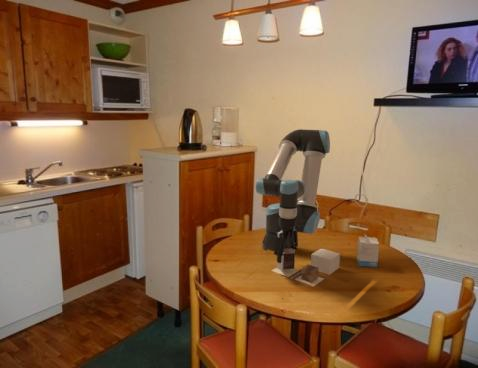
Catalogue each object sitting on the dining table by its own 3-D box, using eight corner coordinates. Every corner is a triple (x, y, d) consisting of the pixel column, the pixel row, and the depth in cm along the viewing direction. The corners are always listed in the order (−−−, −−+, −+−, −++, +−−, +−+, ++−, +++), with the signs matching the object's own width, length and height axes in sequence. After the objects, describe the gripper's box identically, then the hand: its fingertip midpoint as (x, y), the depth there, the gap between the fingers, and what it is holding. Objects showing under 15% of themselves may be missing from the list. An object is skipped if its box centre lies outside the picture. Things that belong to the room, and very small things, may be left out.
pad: (271, 271, 153) (271, 270, 153) (282, 264, 159) (282, 264, 159) (288, 277, 147) (288, 277, 147) (299, 270, 154) (299, 270, 154)
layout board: (268, 273, 152) (268, 271, 152) (285, 263, 162) (285, 261, 162) (312, 290, 138) (313, 288, 138) (329, 278, 148) (329, 276, 148)
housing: (310, 270, 156) (311, 254, 154) (320, 264, 163) (321, 248, 161) (329, 277, 150) (330, 260, 148) (338, 270, 157) (340, 253, 155)
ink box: (377, 267, 160) (380, 240, 157) (358, 265, 161) (361, 238, 159) (374, 260, 168) (376, 233, 165) (356, 258, 170) (358, 232, 167)
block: (301, 279, 145) (301, 268, 144) (307, 275, 149) (307, 264, 148) (311, 283, 142) (312, 271, 141) (317, 278, 146) (318, 267, 145)
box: (294, 269, 150) (295, 253, 149) (281, 270, 149) (282, 254, 148) (289, 263, 156) (290, 247, 155) (276, 264, 155) (277, 248, 153)
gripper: (281, 223, 138) (279, 276, 142) (307, 213, 153) (305, 261, 158) (266, 219, 143) (264, 271, 147) (293, 209, 158) (291, 256, 163)
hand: (285, 265), depth 153 cm, fingers closed on box, 8 cm apart
